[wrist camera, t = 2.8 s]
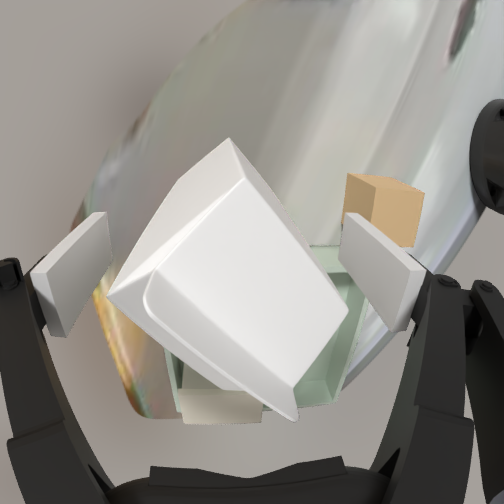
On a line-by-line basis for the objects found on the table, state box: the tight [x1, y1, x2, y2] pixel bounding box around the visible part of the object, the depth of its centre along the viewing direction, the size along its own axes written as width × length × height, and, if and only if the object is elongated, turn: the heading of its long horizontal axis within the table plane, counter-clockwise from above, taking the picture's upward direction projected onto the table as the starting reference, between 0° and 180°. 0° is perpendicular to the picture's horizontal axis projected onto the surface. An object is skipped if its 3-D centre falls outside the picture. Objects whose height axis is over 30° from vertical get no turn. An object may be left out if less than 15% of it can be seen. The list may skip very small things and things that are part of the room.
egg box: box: [178, 363, 263, 424], centre depth 32 cm, size 9×6×7 cm, turn 88°
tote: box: [164, 246, 369, 412], centre depth 32 cm, size 20×20×4 cm
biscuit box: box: [341, 173, 425, 247], centre depth 26 cm, size 5×5×6 cm
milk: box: [106, 138, 349, 422], centre depth 17 cm, size 6×6×22 cm
